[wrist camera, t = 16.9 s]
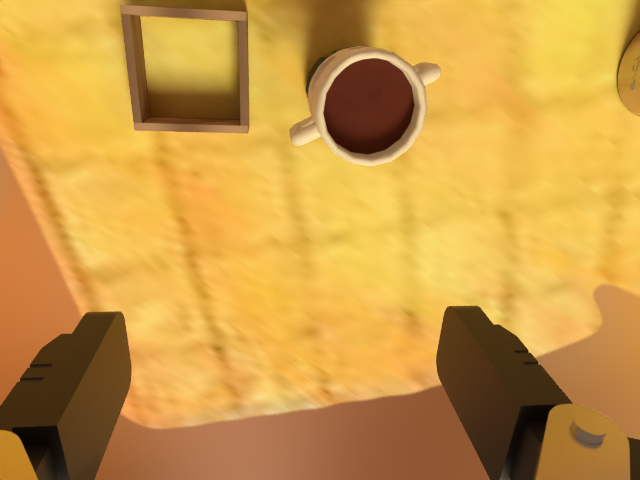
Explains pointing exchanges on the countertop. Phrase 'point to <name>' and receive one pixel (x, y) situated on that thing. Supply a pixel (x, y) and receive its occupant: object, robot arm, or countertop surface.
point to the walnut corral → (139, 74)
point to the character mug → (366, 104)
